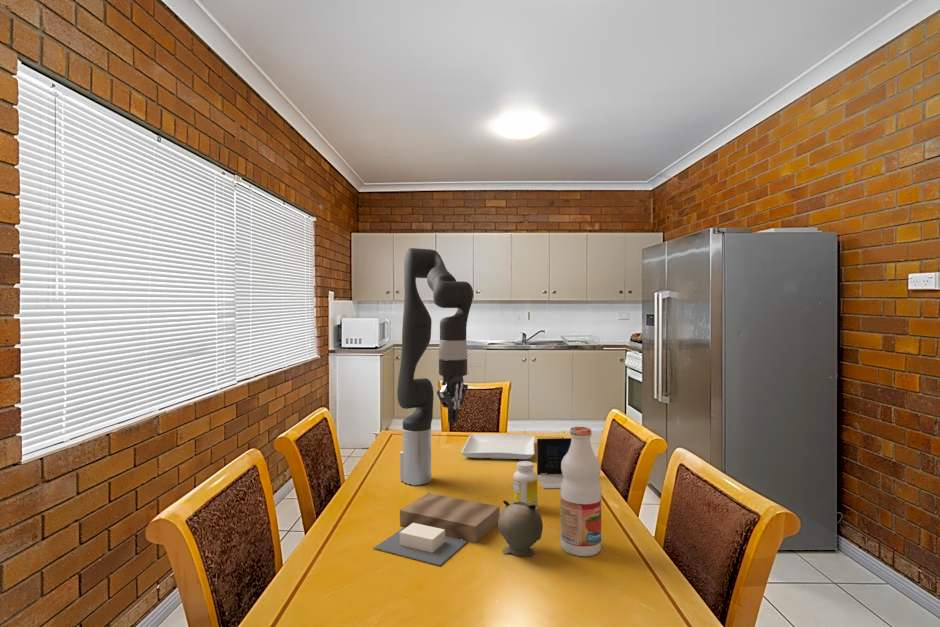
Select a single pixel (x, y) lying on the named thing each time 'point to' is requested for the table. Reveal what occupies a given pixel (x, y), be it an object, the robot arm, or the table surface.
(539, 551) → the table surface
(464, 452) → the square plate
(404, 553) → the mat
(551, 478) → the laptop
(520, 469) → the supplement bottle
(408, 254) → the robot arm
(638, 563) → the table surface
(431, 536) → the thick cream block
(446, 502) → the brown wooden block
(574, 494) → the fruit juice
